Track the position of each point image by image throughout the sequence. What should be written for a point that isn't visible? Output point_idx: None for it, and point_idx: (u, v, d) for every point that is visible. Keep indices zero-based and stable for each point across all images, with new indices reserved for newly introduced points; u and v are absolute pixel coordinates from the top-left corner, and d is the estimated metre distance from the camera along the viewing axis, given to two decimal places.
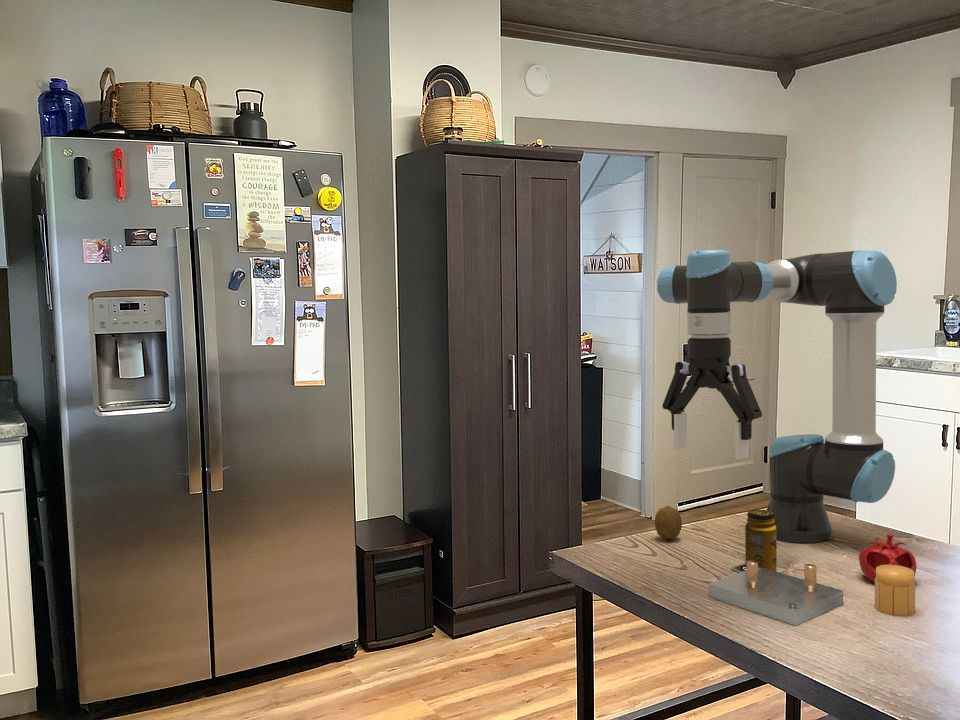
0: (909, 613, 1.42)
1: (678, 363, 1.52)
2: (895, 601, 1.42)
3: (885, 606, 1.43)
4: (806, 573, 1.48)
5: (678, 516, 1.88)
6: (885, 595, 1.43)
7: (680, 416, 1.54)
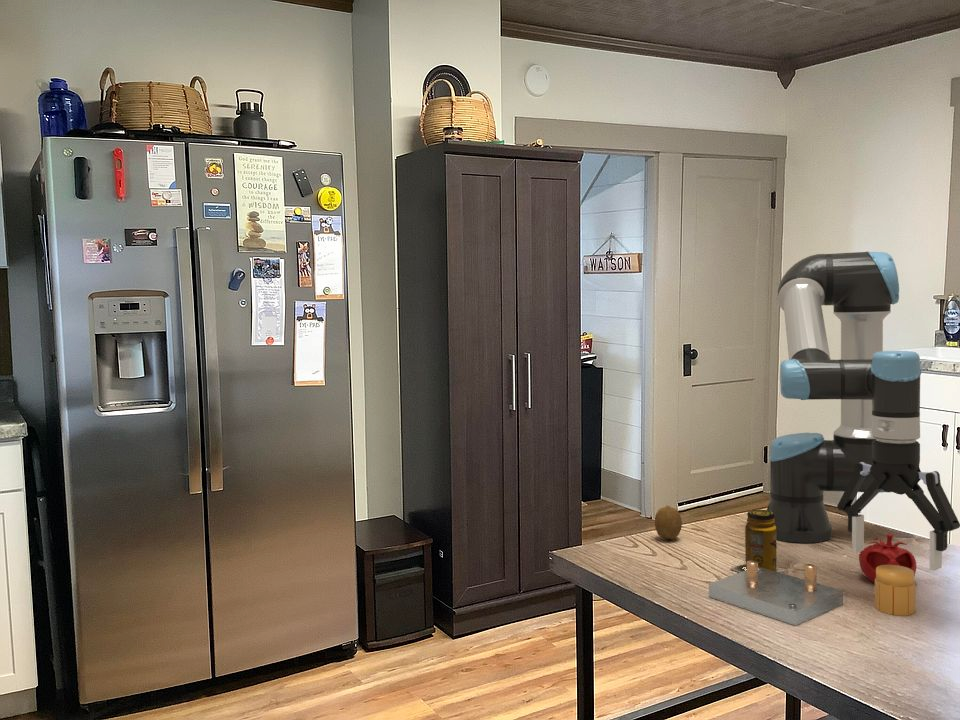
0: (909, 613, 1.42)
1: (858, 464, 1.47)
2: (895, 601, 1.42)
3: (885, 606, 1.43)
4: (806, 573, 1.48)
5: (678, 516, 1.88)
6: (885, 595, 1.43)
7: (858, 519, 1.49)
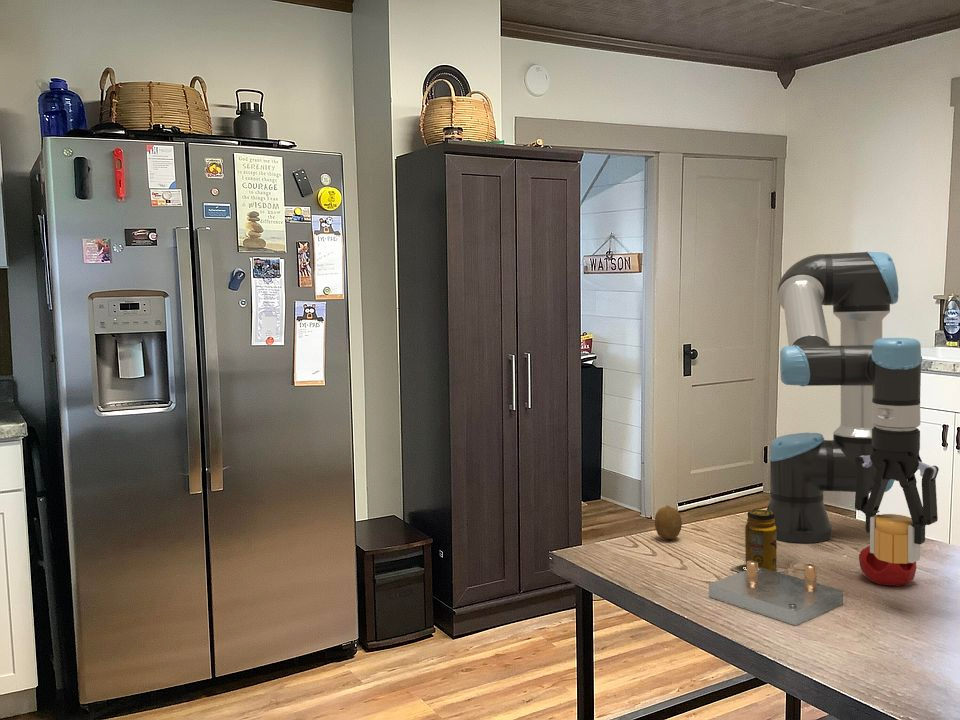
0: None
1: (858, 458, 1.47)
2: (895, 549, 1.42)
3: (885, 554, 1.43)
4: (806, 573, 1.48)
5: (678, 516, 1.88)
6: (885, 543, 1.43)
7: None
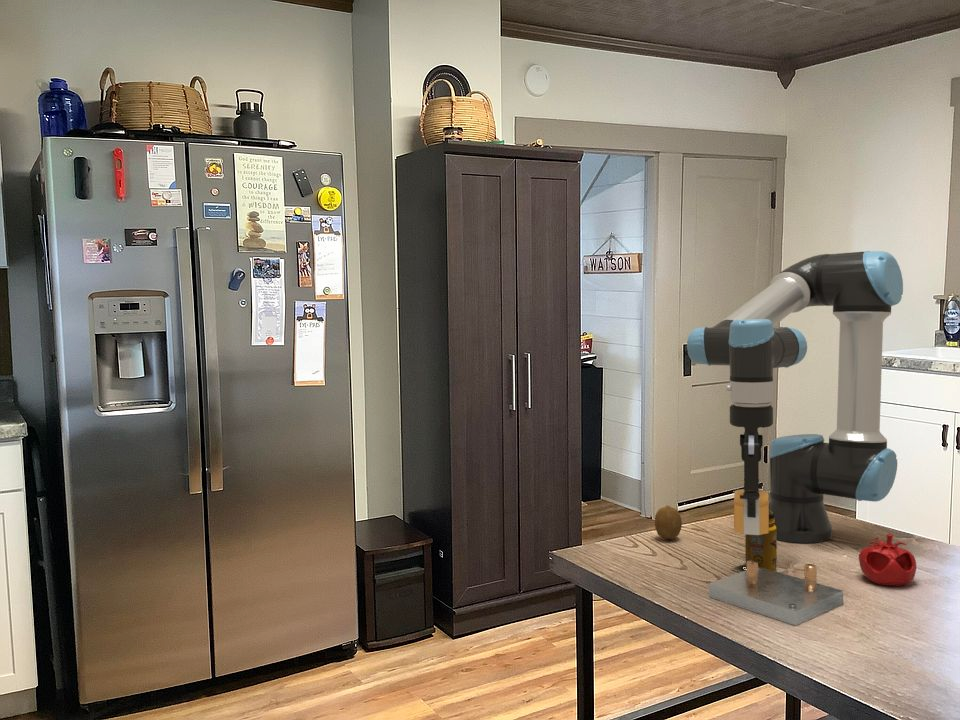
0: None
1: (744, 432, 1.56)
2: (735, 518, 1.50)
3: None
4: (806, 573, 1.48)
5: (678, 516, 1.88)
6: None
7: None
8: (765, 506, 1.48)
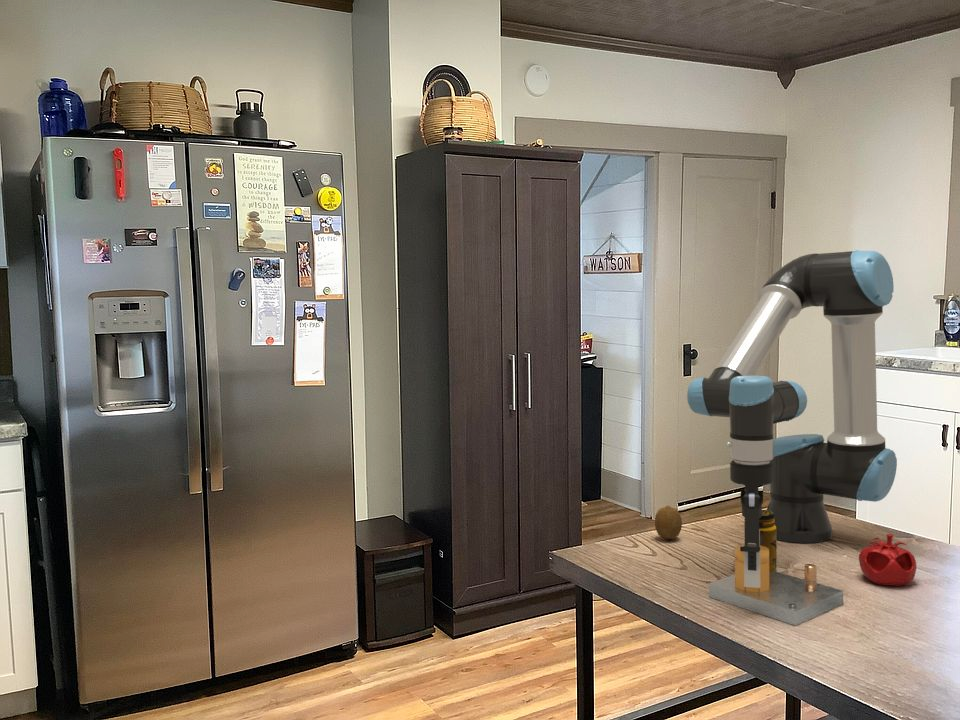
0: (747, 589, 1.49)
1: None
2: (736, 574, 1.51)
3: None
4: (806, 573, 1.48)
5: (678, 516, 1.88)
6: None
7: None
8: (766, 563, 1.49)
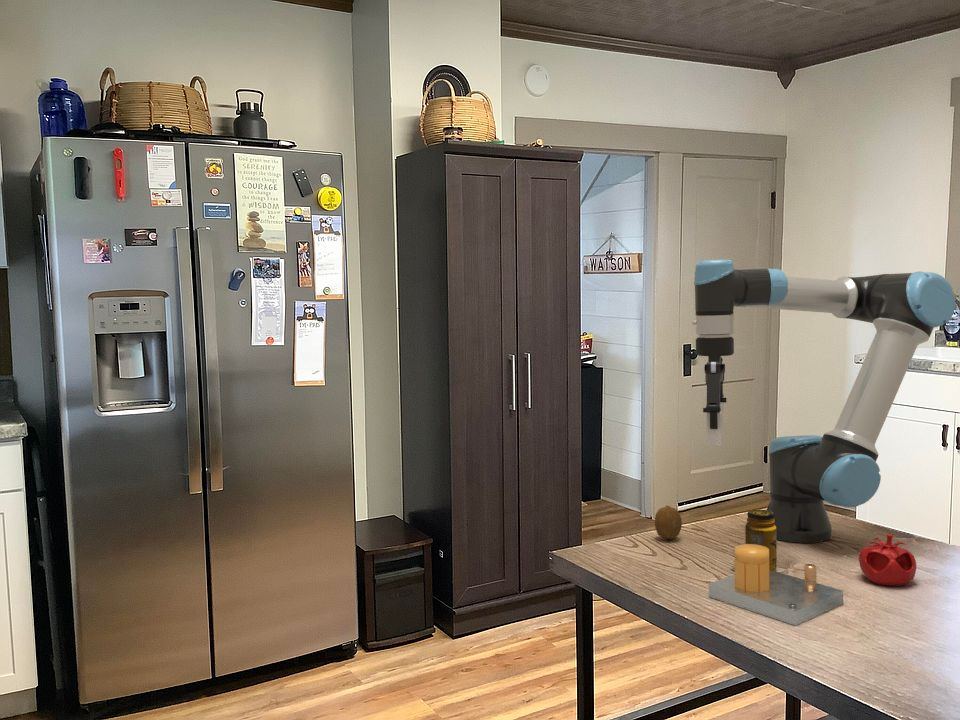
0: (747, 589, 1.49)
1: None
2: (736, 574, 1.51)
3: None
4: (806, 573, 1.48)
5: (678, 516, 1.88)
6: None
7: None
8: (766, 563, 1.49)
